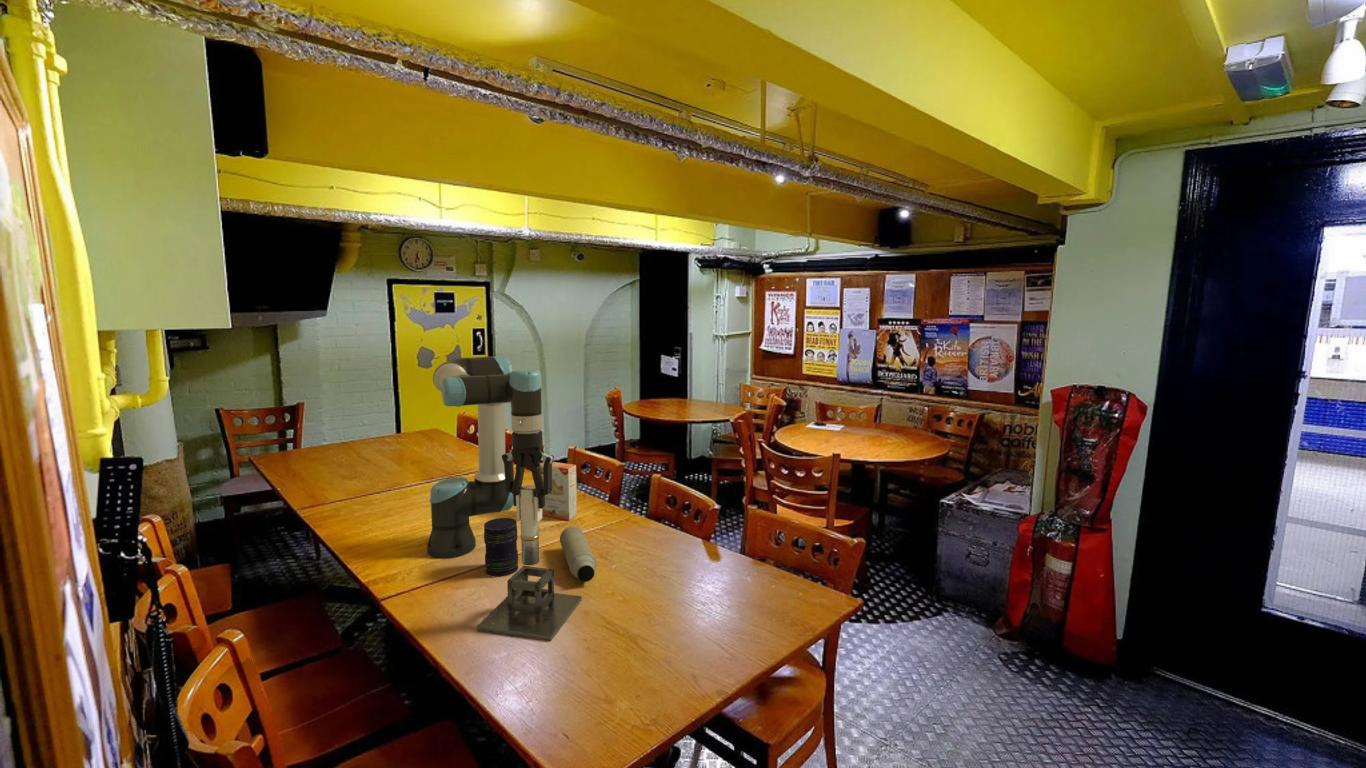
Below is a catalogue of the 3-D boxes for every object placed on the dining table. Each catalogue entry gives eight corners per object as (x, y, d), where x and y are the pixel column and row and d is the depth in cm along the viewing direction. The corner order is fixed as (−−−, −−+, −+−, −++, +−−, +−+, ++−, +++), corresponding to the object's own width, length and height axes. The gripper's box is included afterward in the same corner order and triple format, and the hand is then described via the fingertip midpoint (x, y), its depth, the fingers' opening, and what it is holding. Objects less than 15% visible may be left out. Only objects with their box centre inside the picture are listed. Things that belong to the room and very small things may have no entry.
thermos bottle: (587, 530, 194) (604, 566, 168) (576, 551, 194) (592, 590, 168) (566, 522, 192) (580, 557, 165) (555, 544, 191) (567, 582, 165)
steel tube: (518, 564, 148) (516, 489, 145) (526, 557, 152) (524, 484, 150) (534, 566, 147) (532, 491, 144) (542, 558, 152) (540, 485, 149)
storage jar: (500, 580, 171) (498, 532, 169) (478, 571, 176) (476, 525, 174) (525, 567, 179) (524, 521, 177) (503, 559, 185) (502, 515, 182)
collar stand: (477, 630, 144) (475, 588, 143) (515, 592, 164) (514, 555, 162) (550, 640, 140) (550, 598, 139) (581, 600, 160) (581, 562, 158)
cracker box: (538, 516, 223) (536, 463, 220) (547, 511, 228) (546, 460, 225) (568, 521, 217) (567, 468, 214) (577, 516, 223) (576, 464, 220)
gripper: (487, 431, 143) (491, 521, 146) (552, 435, 140) (554, 527, 143) (503, 425, 151) (506, 511, 154) (565, 429, 147) (566, 516, 150)
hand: (529, 518), depth 148 cm, fingers closed on steel tube, 4 cm apart
